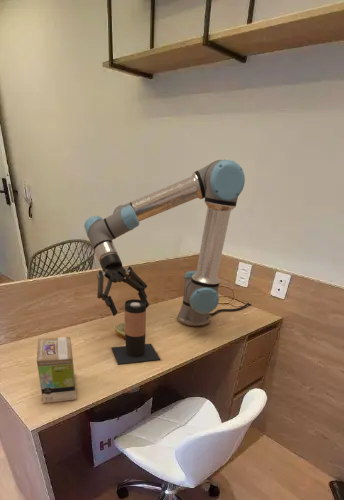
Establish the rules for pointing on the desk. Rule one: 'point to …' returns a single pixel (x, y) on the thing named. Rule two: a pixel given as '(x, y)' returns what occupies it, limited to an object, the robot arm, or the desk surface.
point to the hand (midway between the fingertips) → (131, 310)
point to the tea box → (56, 369)
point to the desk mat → (125, 359)
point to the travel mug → (135, 327)
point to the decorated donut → (120, 330)
